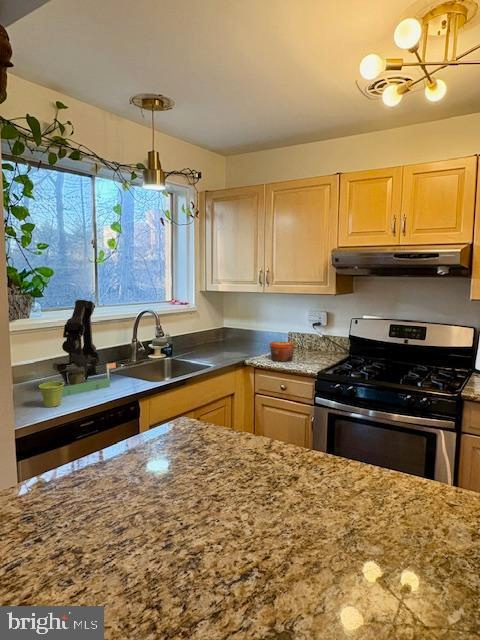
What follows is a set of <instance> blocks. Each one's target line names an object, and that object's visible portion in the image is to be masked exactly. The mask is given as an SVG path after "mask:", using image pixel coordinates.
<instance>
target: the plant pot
mask: <svg viewBox="0 0 480 640" xmlns="http://www.w3.org/2000/svg"><path fill="white" fill-rule="evenodd" d="M64 386H65V382H62V381H47V382H44V383H40V384H39V385H38V387H39V389H40V392H41V397H42V400H43V405H44V407H46V408H55V407H59V406H61V405H62V389H63V387H64Z"/></svg>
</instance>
